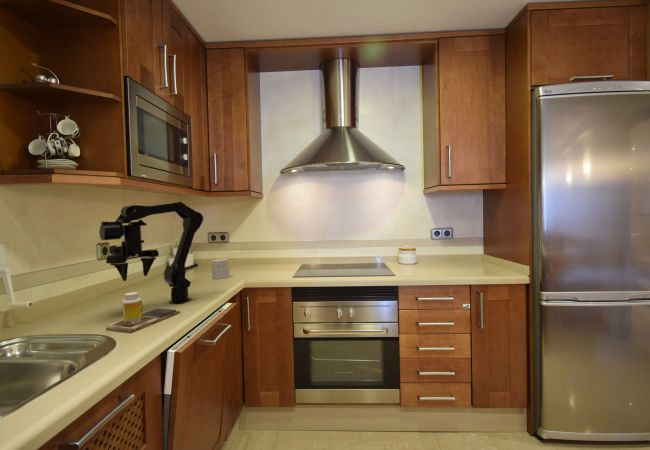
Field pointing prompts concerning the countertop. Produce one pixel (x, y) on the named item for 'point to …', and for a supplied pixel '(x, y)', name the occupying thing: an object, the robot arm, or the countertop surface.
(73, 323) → the countertop surface
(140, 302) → the supplement bottle
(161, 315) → the board
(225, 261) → the small box
